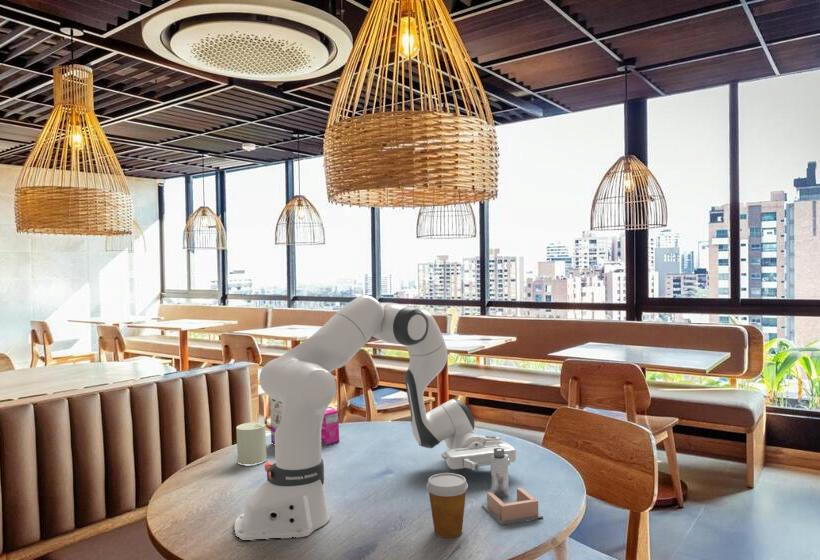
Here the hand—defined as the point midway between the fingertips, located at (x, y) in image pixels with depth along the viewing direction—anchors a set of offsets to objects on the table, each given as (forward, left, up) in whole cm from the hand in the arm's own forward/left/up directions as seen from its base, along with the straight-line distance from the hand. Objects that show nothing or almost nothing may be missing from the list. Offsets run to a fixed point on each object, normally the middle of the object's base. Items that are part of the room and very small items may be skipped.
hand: (491, 465), depth 154 cm
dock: (-2, -16, -6) cm, 17 cm away
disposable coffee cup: (-20, -20, -7) cm, 29 cm away
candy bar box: (-52, +59, -7) cm, 79 cm away
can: (-63, +46, -7) cm, 78 cm away
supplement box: (-37, +57, -7) cm, 69 cm away
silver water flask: (0, -5, -6) cm, 8 cm away
